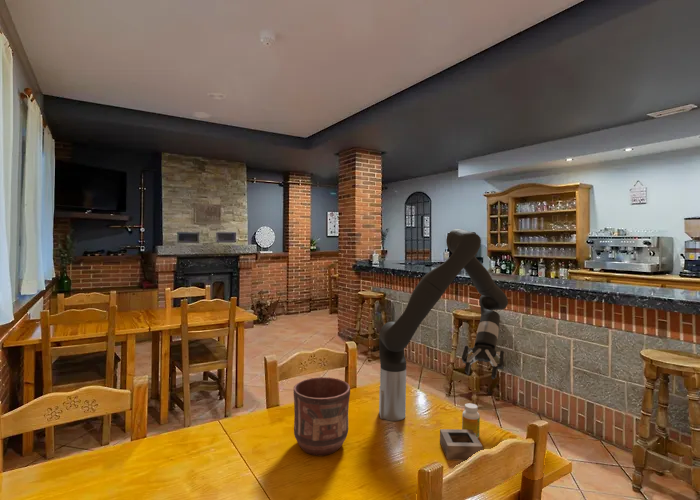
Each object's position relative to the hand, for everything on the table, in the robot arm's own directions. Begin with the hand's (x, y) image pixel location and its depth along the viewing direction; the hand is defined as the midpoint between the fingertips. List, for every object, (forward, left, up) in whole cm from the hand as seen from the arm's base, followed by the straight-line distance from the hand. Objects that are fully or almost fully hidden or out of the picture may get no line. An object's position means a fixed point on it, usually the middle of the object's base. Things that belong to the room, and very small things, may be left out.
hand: (479, 375), depth 137 cm
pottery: (-54, -18, -16) cm, 59 cm away
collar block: (-12, -20, -16) cm, 28 cm away
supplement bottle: (-6, -10, -16) cm, 20 cm away
